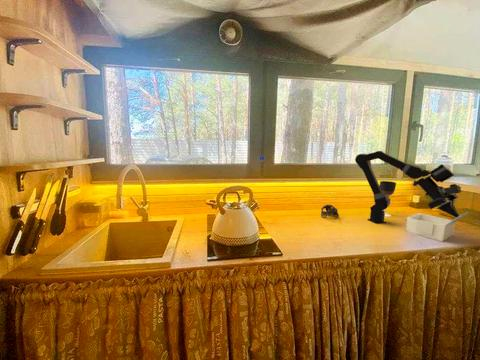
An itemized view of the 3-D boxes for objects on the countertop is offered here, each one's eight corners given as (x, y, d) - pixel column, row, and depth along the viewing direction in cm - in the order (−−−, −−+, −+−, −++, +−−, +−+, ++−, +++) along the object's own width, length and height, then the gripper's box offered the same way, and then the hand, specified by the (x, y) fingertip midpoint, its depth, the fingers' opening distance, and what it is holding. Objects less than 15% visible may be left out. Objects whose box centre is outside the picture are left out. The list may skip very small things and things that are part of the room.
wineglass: (373, 213, 142) (377, 181, 139) (381, 211, 146) (385, 180, 143) (386, 217, 135) (390, 183, 132) (395, 215, 140) (399, 182, 136)
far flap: (459, 215, 98) (460, 216, 97) (468, 211, 104) (469, 212, 104) (444, 225, 102) (445, 226, 102) (454, 220, 109) (455, 221, 108)
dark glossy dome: (342, 220, 130) (337, 209, 128) (326, 226, 133) (321, 215, 130) (335, 209, 141) (331, 198, 139) (320, 214, 144) (316, 204, 141)
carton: (404, 231, 114) (406, 217, 113) (417, 225, 122) (419, 212, 121) (441, 241, 102) (444, 226, 101) (453, 234, 110) (455, 220, 109)
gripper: (441, 179, 99) (472, 211, 92) (455, 176, 109) (484, 204, 102) (417, 194, 107) (443, 224, 100) (432, 190, 117) (457, 217, 110)
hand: (458, 217), depth 103 cm, fingers closed
